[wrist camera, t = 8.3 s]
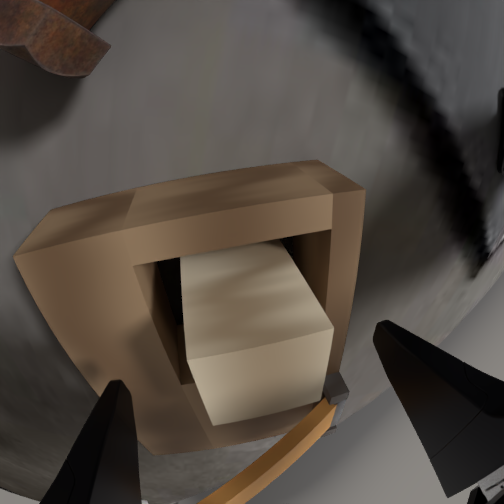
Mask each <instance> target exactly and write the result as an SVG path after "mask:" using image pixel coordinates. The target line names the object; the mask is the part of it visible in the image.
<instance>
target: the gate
mask: <svg viewBox="0 0 504 504" xmlns="http://www.w3.org/2000/svg"><path fill="white" fill-rule="evenodd" d="M345 401H346V400H344V401H341V402H338V403H335V404H332V405H329V403H328V401H327V399H326V397H325V398H324V399H323V400H322V401H321V402H320V403H319V404H318V405H317V406H316V407H315V408H314V409H313V410H312V411H311V412H310V413H309V414H308V415H307V416H306V417H305V418H304V419H303V420H302V421H300V422H299V423H298V424H297V425H296V426H295V427H294V428H293V429H292V430H291V431H290V432H289V433H287V434H286V435H285V436H284V437H283V438H282V439H281V440H280V441H278V442H277V443H276V444H275V445H274V446H273V447H272V448H270V449H269V450H268V451H267V452H266V453H264V454H263V455H262V456H261V457H260V458H258V459H257V460H256V461H255V462H253V463H252V464H251V465H250V466H248V467H247V468H246V469H245V470H243V471H242V472H241V473H239V474H238V475H237V476H235V477H234V478H233V479H231V480H230V481H229V482H227V483H226V484H225V485H223V486H222V487H221V488H219V489H218V490H216V491H215V492H213V493H212V494H210V495H209V496H207V497H206V498H204V499H203V500H201V501H200V502H198V503H197V504H244V503H246V502H247V501H248V500H250V499H251V498H252V497H254V496H255V495H256V494H257V493H259V492H260V491H261V490H262V489H264V488H265V487H266V486H267V485H269V484H270V483H271V482H272V481H273V480H274V479H276V478H277V477H278V476H279V475H280V474H282V473H283V472H284V471H285V470H286V469H287V468H288V467H289V466H291V465H292V464H293V463H294V462H295V461H296V460H297V459H298V458H299V457H300V456H301V455H302V454H303V453H304V452H306V450H307V449H308V448H310V447H311V446H312V445H313V444H314V443H315V442H316V441H317V439H319V438H320V437H321V436H322V435H323V434H324V433H325V432H326V431H327V429H328V428H329V427H332V426H335V425H336V424H337V423H338V421H339V419H340V416H341V413H342V410H343V407H344V404H345Z"/></svg>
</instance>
